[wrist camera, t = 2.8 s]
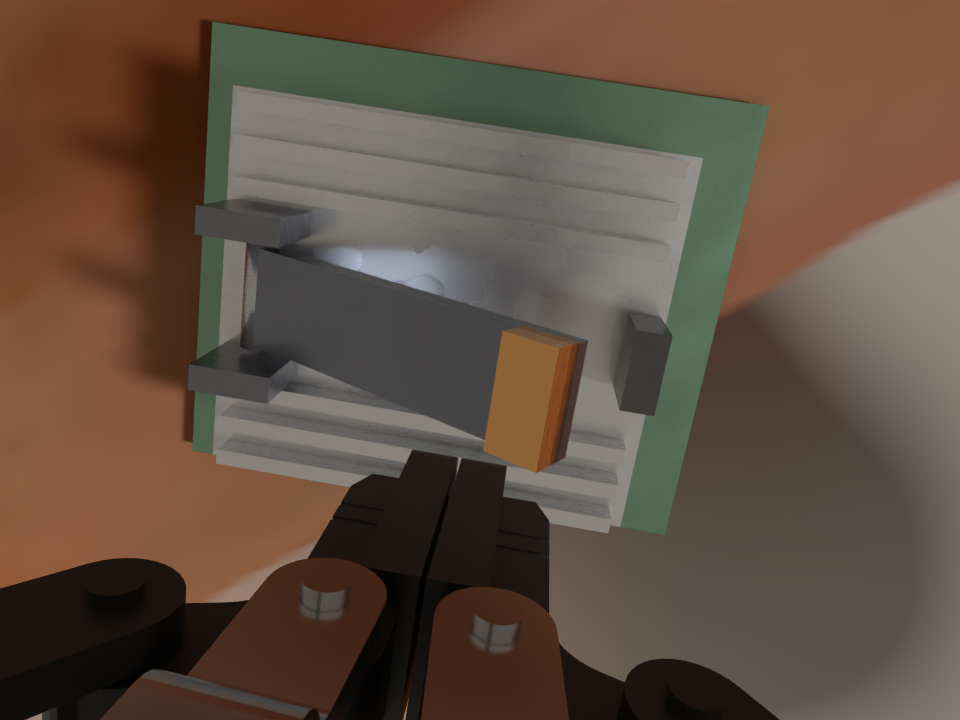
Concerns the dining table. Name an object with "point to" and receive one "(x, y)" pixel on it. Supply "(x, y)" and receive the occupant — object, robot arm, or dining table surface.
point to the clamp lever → (418, 351)
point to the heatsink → (470, 251)
